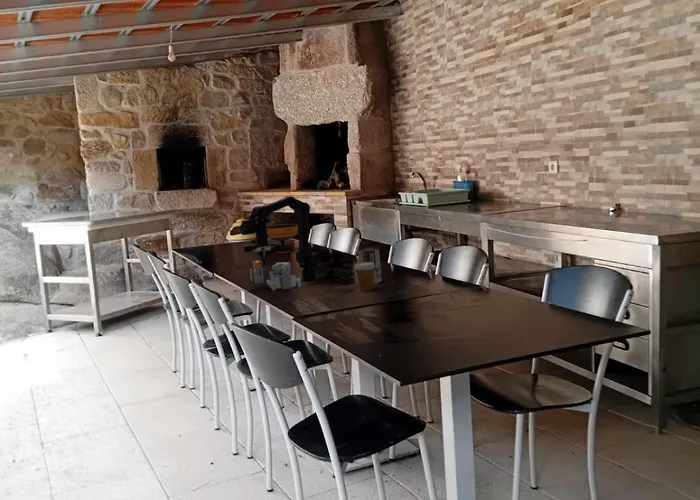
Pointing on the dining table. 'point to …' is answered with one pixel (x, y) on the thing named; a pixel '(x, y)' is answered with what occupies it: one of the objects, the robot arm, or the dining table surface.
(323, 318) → the dining table surface
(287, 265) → the light bulb box
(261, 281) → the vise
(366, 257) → the coffee box
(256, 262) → the lever
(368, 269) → the disposable coffee cup
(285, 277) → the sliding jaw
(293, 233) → the cup
